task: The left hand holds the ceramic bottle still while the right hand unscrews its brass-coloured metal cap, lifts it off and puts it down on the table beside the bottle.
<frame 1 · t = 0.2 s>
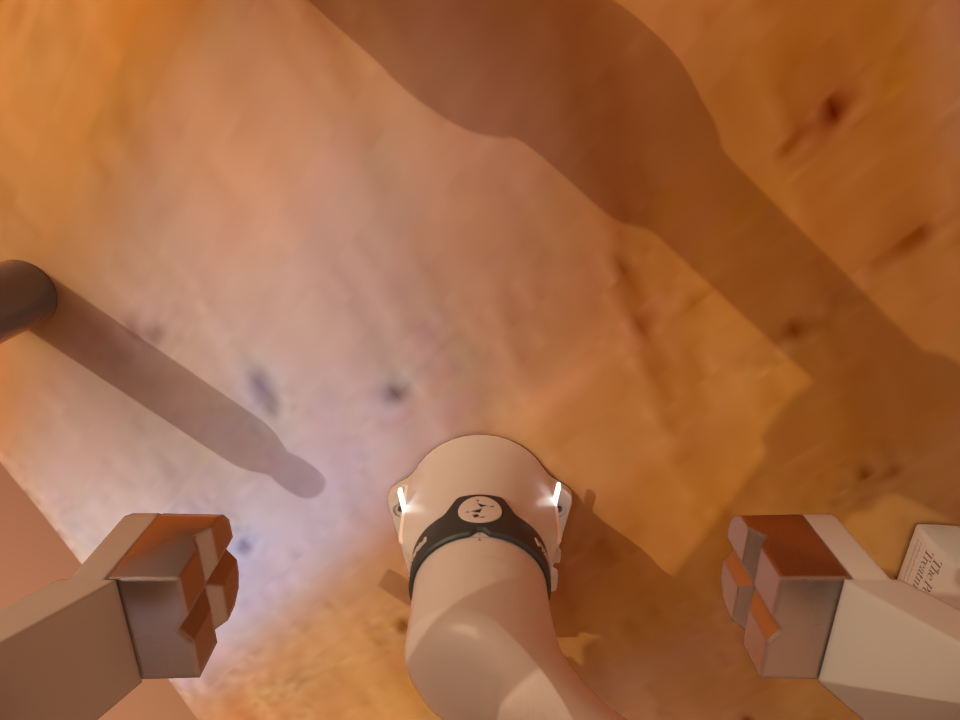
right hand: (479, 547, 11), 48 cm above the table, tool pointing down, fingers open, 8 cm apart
skincare box: (905, 601, 72), on the table
bottle: (22, 292, 59), on the table
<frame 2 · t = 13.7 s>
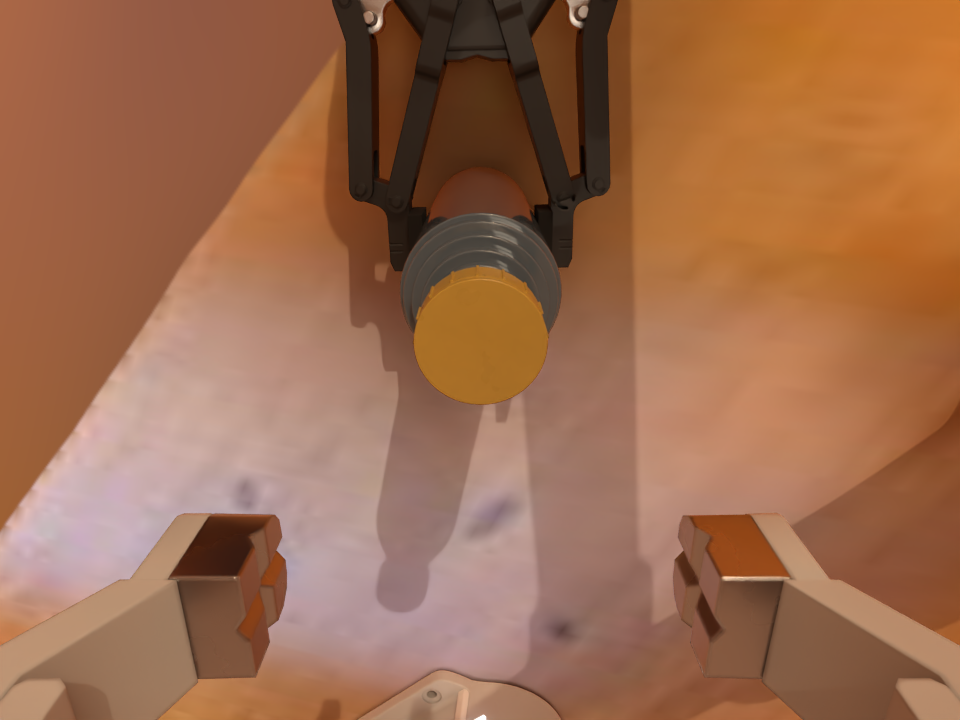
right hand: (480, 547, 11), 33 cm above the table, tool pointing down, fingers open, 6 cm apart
left hand: (482, 322, 37), fingers closed on bottle, 6 cm apart
bottle: (480, 216, 41), on the table, touching left hand
cap: (480, 341, 20), point 23 cm above the table, screwed on, not yet turned
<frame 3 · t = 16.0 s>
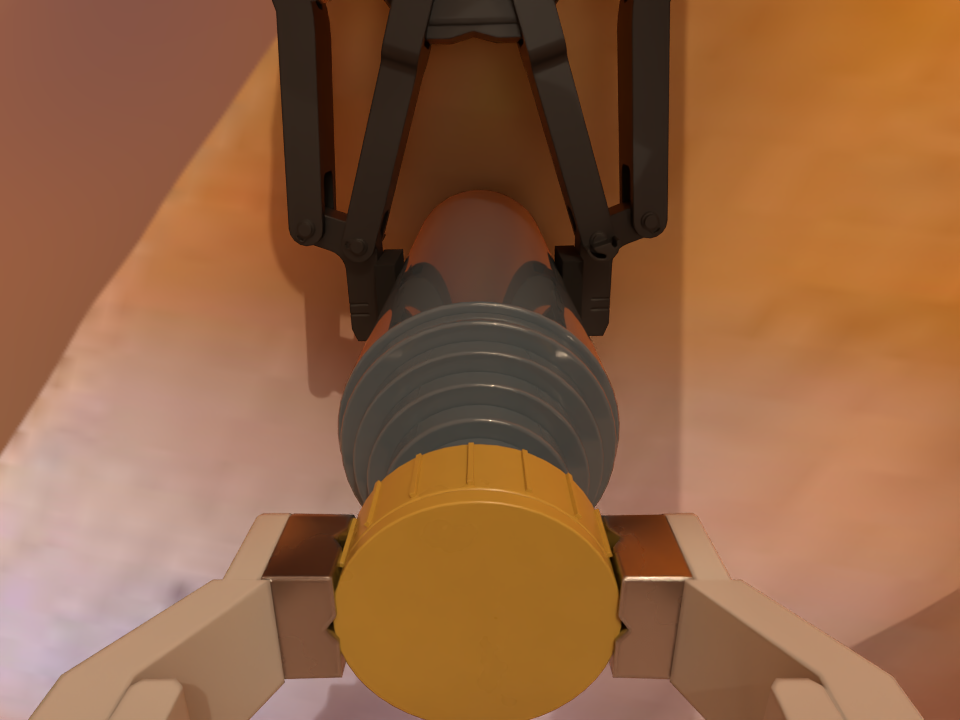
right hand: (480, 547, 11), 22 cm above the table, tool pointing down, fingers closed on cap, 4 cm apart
bottle: (479, 255, 31), on the table, touching left hand
cap: (477, 608, 9), point 23 cm above the table, screwed on, not yet turned, touching right hand
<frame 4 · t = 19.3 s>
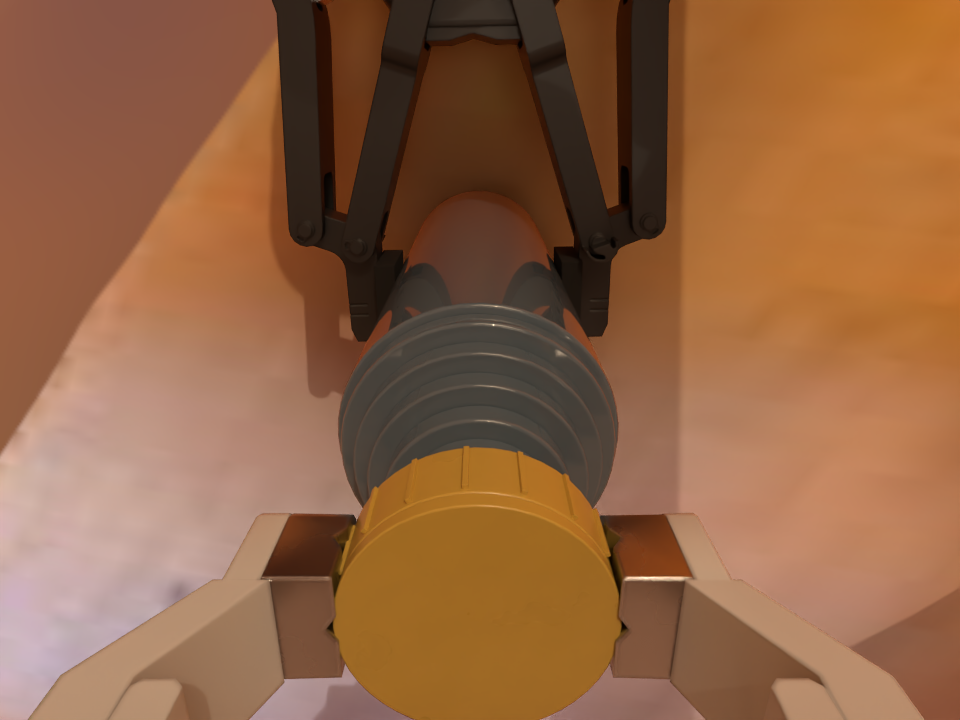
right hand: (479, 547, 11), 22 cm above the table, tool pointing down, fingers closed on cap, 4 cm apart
bottle: (479, 256, 31), on the table, touching left hand
cap: (477, 612, 9), point 23 cm above the table, turned 92° so far, risen 0.1 cm, still on its thread, touching right hand
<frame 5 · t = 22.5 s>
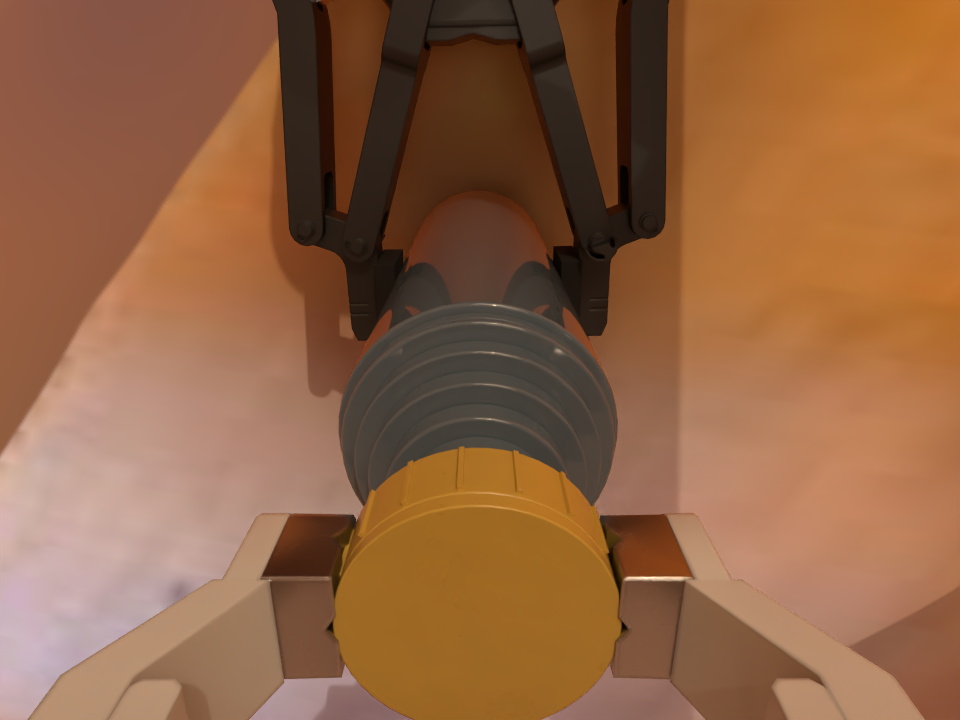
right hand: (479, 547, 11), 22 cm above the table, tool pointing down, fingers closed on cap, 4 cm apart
bottle: (478, 255, 31), on the table, touching left hand
cap: (477, 612, 9), point 23 cm above the table, turned 184° so far, risen 0.2 cm, still on its thread, touching right hand
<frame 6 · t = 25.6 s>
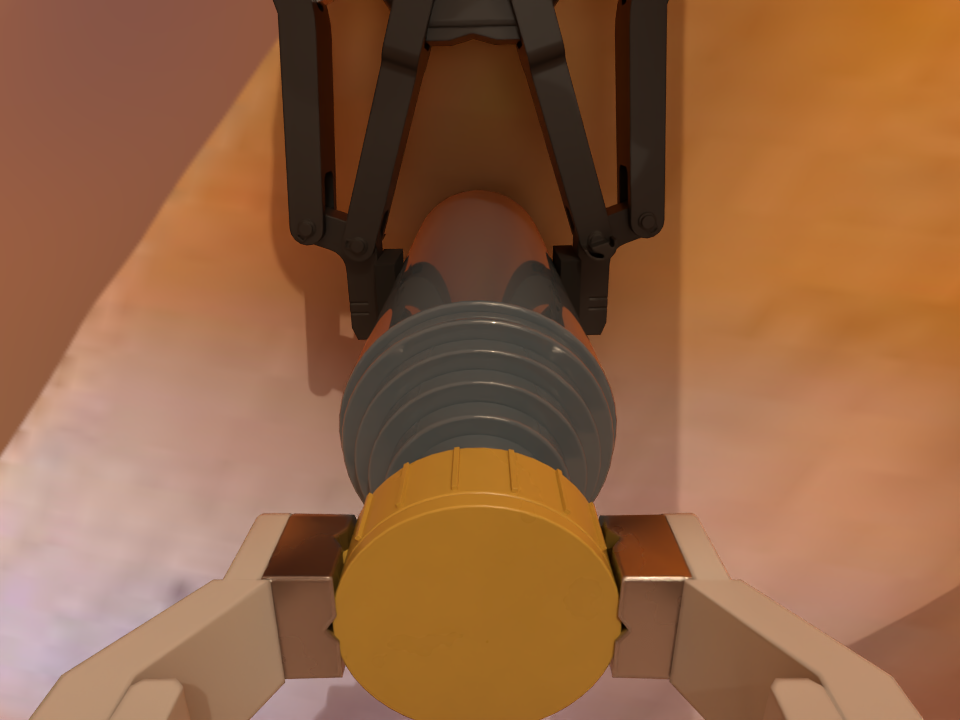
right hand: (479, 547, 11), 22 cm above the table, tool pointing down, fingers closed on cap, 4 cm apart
bottle: (478, 255, 31), on the table, touching left hand
cap: (477, 612, 9), point 23 cm above the table, turned 276° so far, risen 0.2 cm, still on its thread, touching right hand
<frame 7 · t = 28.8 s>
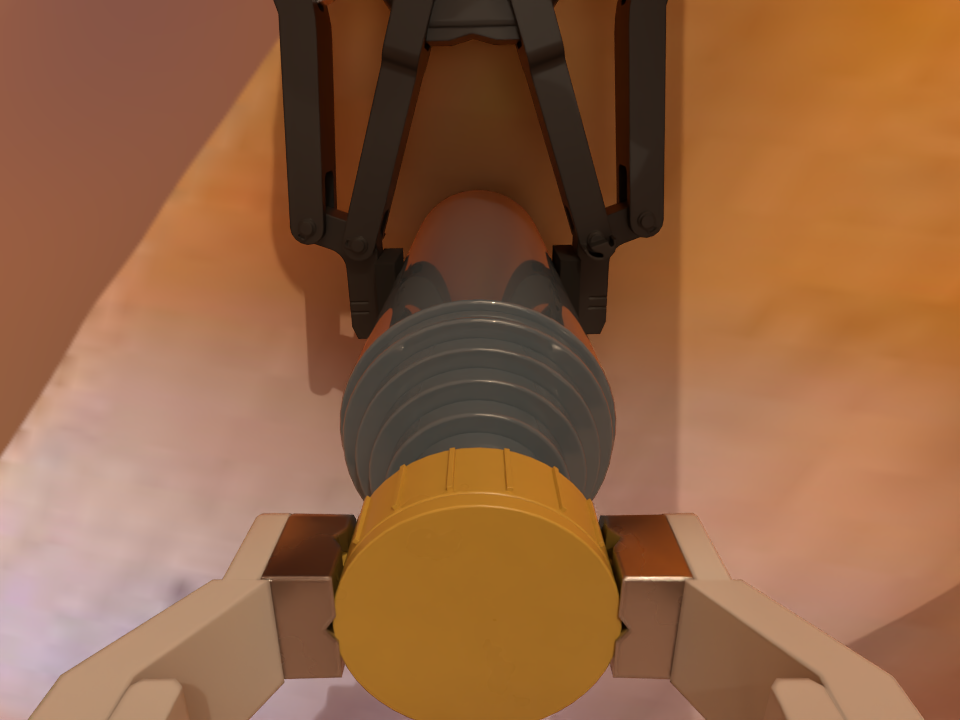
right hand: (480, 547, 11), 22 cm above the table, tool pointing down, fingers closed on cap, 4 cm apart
bottle: (478, 254, 31), on the table, touching left hand
cap: (477, 612, 9), point 23 cm above the table, turned 368° so far, risen 0.3 cm, still on its thread, touching right hand
when the right hand's fingers open (2 cm above the table, at t = 37.0 s): cap drops 2 cm, point 1 cm above the table.
when the left hand's fingers open (6 cm above the table, at t = 38.0 s): bottle stays where it is, on the table.
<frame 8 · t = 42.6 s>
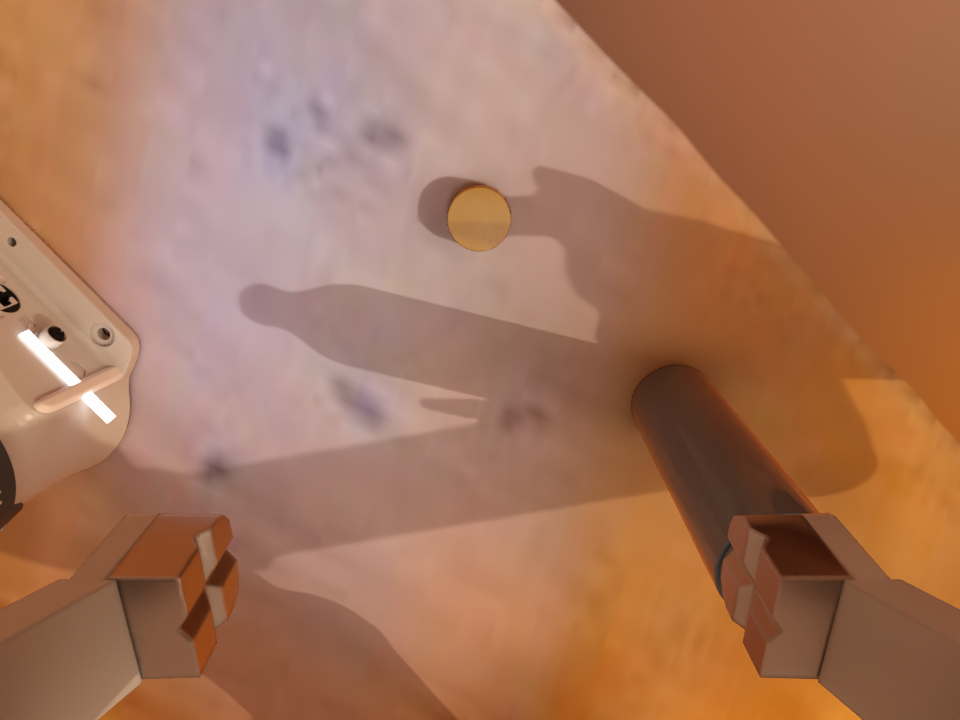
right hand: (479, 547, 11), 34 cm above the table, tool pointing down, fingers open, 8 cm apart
bottle: (672, 403, 47), on the table
cap: (479, 219, 41), point 1 cm above the table, off its thread
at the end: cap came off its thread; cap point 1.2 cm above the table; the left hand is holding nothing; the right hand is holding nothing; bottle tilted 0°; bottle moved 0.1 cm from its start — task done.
